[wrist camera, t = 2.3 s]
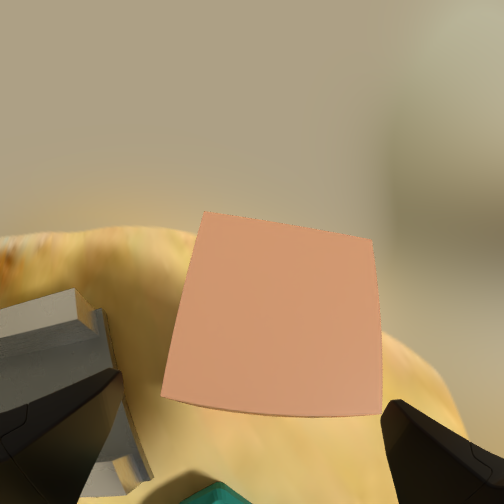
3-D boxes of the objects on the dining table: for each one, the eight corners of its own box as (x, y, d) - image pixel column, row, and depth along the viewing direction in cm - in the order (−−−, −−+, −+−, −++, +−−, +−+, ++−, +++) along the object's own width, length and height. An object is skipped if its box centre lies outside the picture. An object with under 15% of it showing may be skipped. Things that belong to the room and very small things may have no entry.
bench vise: (201, 561, 9) (198, 592, 5) (28, 551, 4) (1, 562, 1) (106, 313, 18) (81, 285, 14) (-31, 346, 14) (-62, 328, 10)
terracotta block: (278, 416, 16) (381, 413, 5) (199, 406, 16) (160, 396, 5) (285, 345, 18) (371, 239, 8) (211, 335, 18) (204, 211, 8)
